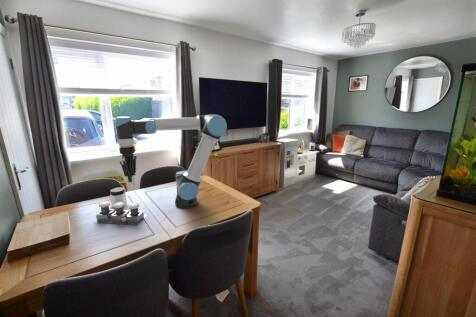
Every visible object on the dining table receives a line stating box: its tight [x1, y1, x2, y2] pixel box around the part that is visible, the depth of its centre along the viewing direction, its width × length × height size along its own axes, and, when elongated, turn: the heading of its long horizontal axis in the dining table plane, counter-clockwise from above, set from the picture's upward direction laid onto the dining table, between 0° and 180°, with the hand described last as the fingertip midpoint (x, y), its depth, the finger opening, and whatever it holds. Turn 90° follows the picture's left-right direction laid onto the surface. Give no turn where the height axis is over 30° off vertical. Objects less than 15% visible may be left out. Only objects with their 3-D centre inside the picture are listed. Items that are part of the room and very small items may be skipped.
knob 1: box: [98, 200, 111, 214], centre depth 130 cm, size 6×6×9 cm
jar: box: [109, 187, 128, 208], centre depth 146 cm, size 9×8×12 cm
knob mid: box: [113, 202, 126, 215], centre depth 129 cm, size 6×6×9 cm
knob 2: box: [127, 202, 140, 216], centre depth 128 cm, size 6×6×9 cm
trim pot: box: [120, 213, 127, 224], centre depth 125 cm, size 3×3×5 cm
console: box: [93, 208, 148, 227], centre depth 130 cm, size 26×12×5 cm, turn 85°
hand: (132, 186), depth 125 cm, fingers closed
